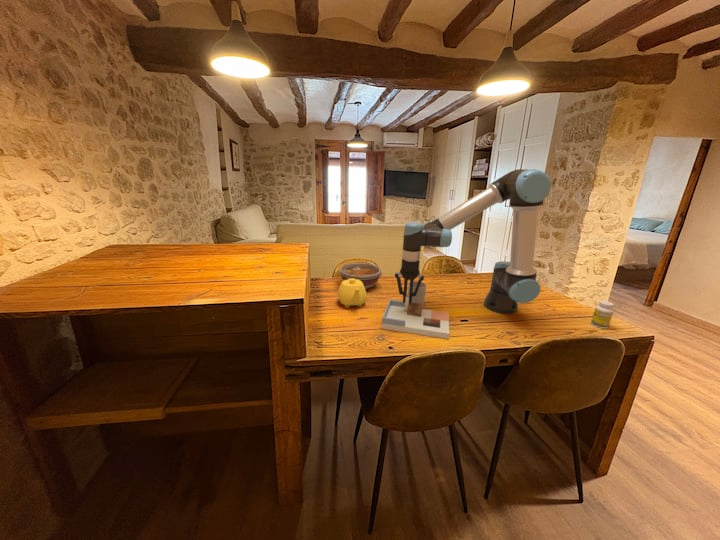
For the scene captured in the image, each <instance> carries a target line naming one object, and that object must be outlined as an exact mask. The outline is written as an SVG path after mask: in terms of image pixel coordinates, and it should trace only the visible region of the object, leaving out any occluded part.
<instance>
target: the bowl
mask: <svg viewBox="0 0 720 540" xmlns="http://www.w3.org/2000/svg"><path fill="white" fill-rule="evenodd" d="M381 273H382V270H381V268H380V267H379V266H377V265H375V264H370V263H366V262H351V263H348V264H347V263H346V264H344V265H342V266H341V267H340V268H339V274H340V277H341V279H342V281H344V280H348V279H351V278H354V279H357V280H360V281H362V283H363V285H364V287H365V290H366V289H370V288H371V287H373V286H374V285H375V284H376V283H377V282H378V281H379V279H380V276H381Z"/></svg>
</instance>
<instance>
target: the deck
mask: <svg viewBox="0 0 720 540" xmlns="http://www.w3.org/2000/svg"><path fill="white" fill-rule="evenodd" d="M381 329H382V330H387V331H388V330H389V331H394V332H400V333H406V334H407V333H408V334H413V335H419V336H427V337H430V338H431V337H432V338H439V339H444V340H449V337H450V313H449V312H447V311H441V310H440V311H439V310H431V309H425V308H422V313H421V317H419V316H412V315H407V310H405V303H404V302H403V300H396V299H389V301H388V303H387V306H386V308H385V311H384V312H383V315H382V317H381Z"/></svg>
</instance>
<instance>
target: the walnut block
mask: <svg viewBox="0 0 720 540" xmlns="http://www.w3.org/2000/svg"><path fill="white" fill-rule="evenodd" d="M422 305H423V304H420V303H412V302H411V303H409V305H408V309H407V315H412V316H419V317H421V313H422V309H423V308H422Z"/></svg>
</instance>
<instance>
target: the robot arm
mask: <svg viewBox="0 0 720 540" xmlns="http://www.w3.org/2000/svg"><path fill="white" fill-rule="evenodd" d="M551 188H552V182H551V178H550V177H549V175H548V174H547V173H546V172H544V171H542V170H541V169H540V170H539V169H536V168H533V169H532V168H526V169H520V168H519V169H514V170H511V171H509V172H508V173H506V174H504V175H502V176H501V177H499V178H498V179H496V180H494V181H493V182H491V183H490V184H489V185H488V187H487V188H486V189H484V190H483V191H481V192H479V193H478V194H476V195H474V196H472V197H470V198H469V199H467V200H465V201H464V202H462V203H461V204H459V205H457V206H456V207H453V209H450V210H449V211H447V212H446V213H444V214H442V215H440V216H439V217H437V218H436V219H433V220H432V221H428V222H425V223H424V224H423V223H421V222H415V221H413V222H412V221H411V222H407V223H405V224H404V230H403V240H402V241H403V242H402V252H401V255H402V256H401V257H402V259H401V267H400V269H399V271H396V272H395V273H394V277H395V278H396V283H397V288H398V294H399V295H402V301H403V302H404V303H405V310H407V309H408V305H409V303H411V302H412V297H413V296H416V294H417V292H418V289H419V286H420V284H421V282H423V281H424V280H425V275H424V274H421V273H420V259H421V250H422V247H429V248H430V247H431V248H448V247H451V244H452V239H453V234H452V230H453V229H455V228H457V226H458V227H459V225H461V224H463V223H465V222H466V221H468V220H470V219H472V218H474V217H475V216H477V215H479V214H481V213H483V212H484V211H485V210H487V209H490V208H491V207H492V206H495V205H497V204H502V203H504V202H505V201H508V200H509V207H510V208H511V210H513V214H512V229H511V230H512V231H511V244H510V246H511V247H510V261H503V260H502V261H497V262H495V264H494V267H493V272H492V276H491V277H492V278H491V282H490V283H491V284H490V289H489V291H488V293H487V295H486V297H485V298H484V301H483V306H484V307H485V308H486V309H487V310H489V311H491V312H495V313H498V314H504V315H507V314H508V315H510V314H516V312H518V307H519V304H527V303H531V302H532V301H533V300H535V299H537V297H539V295H540V293H541V286H540V283H539V282H538V280H537V273H538V272H537V269H536V268H535V267H534V258H535V248H536V234H537V227H538V225H537V224H538V214H539V209H540V208H541V207H542V206H544V200H545V199H546V197H547V196H548V195H549V193H550V192H551ZM401 277H402V278H403V279H404V281H403V283H402V280H401ZM416 278H417V279H418V283H417V286H416V288H415V291H414V292H413V282H414V281H415V280H416ZM408 281H409V282H410V291H409V295H408V284H409V282H408ZM518 303H519V304H518Z"/></svg>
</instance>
